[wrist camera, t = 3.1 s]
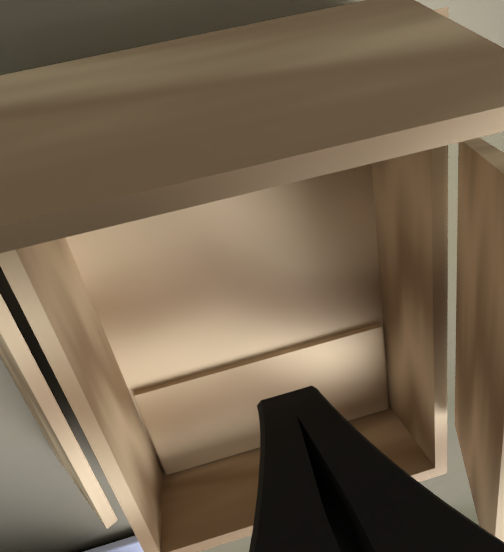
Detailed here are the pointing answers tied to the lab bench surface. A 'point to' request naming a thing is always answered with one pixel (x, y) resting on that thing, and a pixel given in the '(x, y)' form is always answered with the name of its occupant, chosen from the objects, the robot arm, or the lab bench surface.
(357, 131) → the flap
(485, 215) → the flap
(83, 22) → the lab bench surface
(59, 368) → the carton
